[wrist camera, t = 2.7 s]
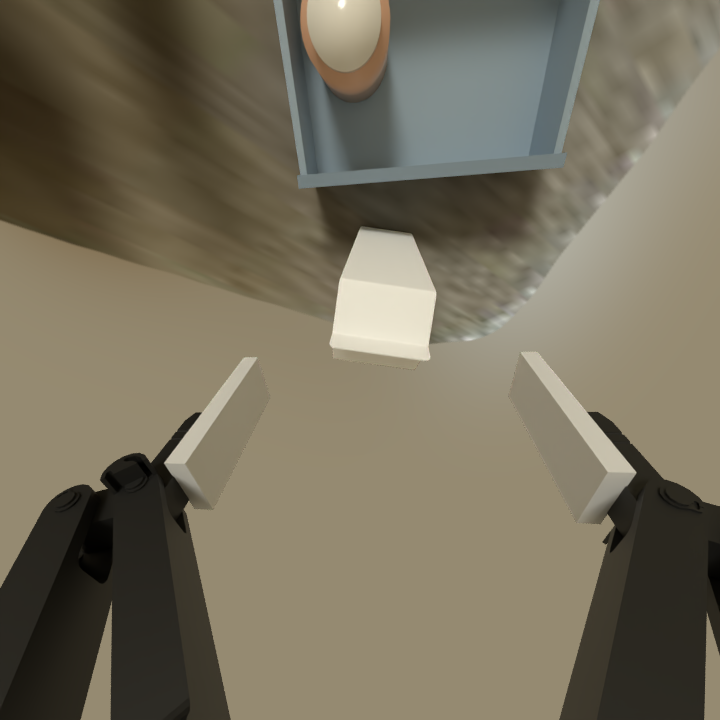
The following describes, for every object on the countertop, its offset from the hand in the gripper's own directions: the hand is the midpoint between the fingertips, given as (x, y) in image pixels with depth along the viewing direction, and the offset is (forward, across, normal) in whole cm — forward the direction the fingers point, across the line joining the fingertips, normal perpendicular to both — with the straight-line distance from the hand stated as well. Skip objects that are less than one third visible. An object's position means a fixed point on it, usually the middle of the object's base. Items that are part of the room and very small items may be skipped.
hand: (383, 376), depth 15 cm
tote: (+24, +4, +16) cm, 29 cm away
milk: (+24, 0, 0) cm, 24 cm away
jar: (+23, -2, +17) cm, 29 cm away
